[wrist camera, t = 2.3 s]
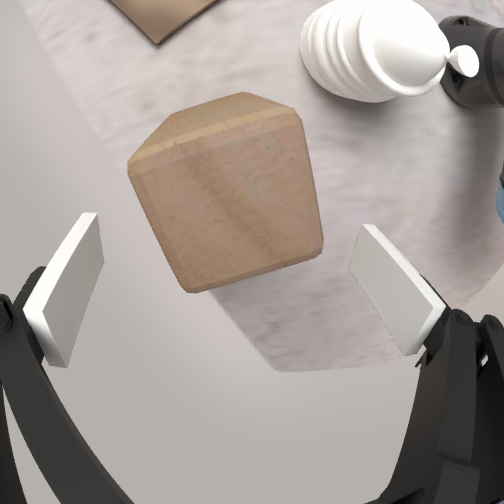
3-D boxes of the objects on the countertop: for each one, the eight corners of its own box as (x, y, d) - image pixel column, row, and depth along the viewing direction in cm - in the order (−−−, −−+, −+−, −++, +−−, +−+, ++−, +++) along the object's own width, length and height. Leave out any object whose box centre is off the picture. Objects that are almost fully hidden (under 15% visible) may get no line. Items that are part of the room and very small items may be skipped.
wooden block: (191, 192, 36) (183, 303, 20) (164, 116, 31) (116, 163, 14) (270, 167, 36) (330, 259, 19) (249, 89, 31) (302, 104, 14)
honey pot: (404, 34, 28) (511, 36, 13) (374, 114, 34) (475, 154, 19) (318, -14, 24) (404, -62, 9) (284, 73, 30) (355, 74, 15)
